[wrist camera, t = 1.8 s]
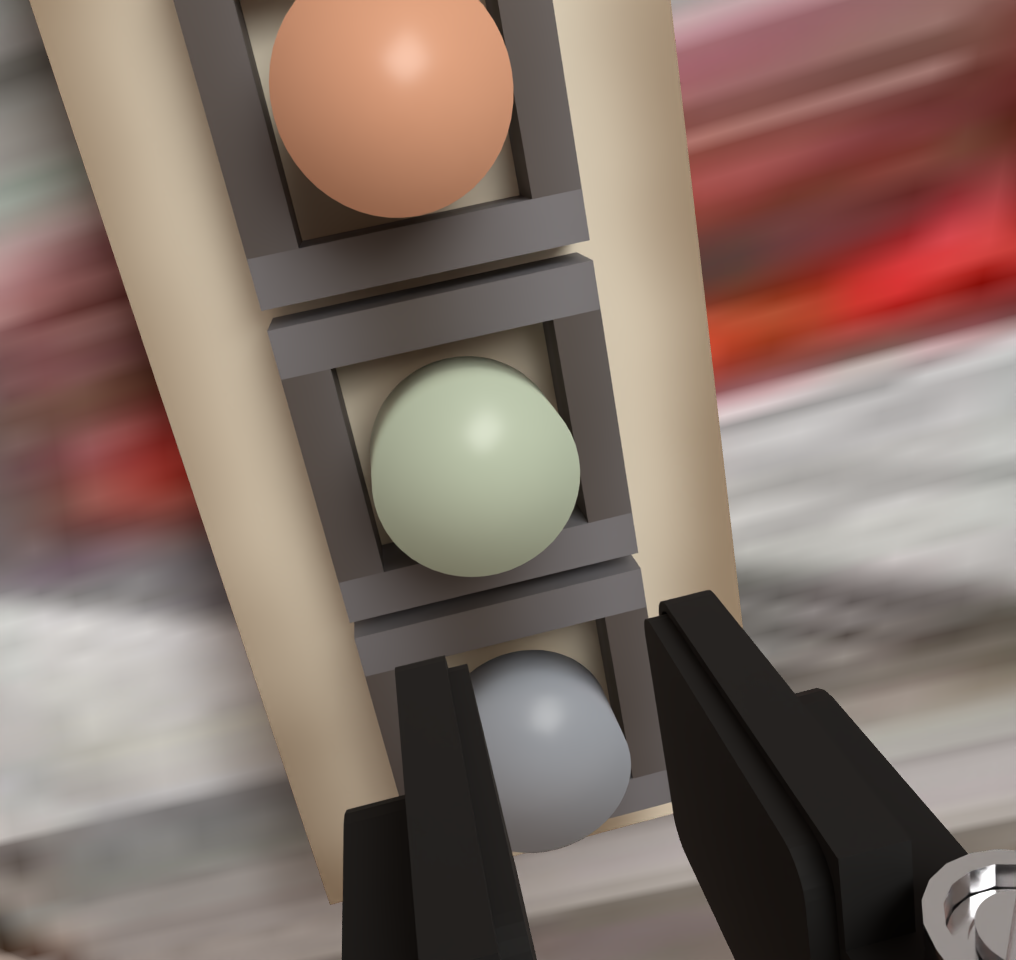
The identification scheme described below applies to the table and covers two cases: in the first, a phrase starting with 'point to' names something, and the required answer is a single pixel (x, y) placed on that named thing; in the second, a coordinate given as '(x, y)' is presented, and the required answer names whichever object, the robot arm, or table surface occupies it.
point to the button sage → (472, 467)
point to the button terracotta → (391, 99)
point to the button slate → (550, 747)
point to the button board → (413, 362)
